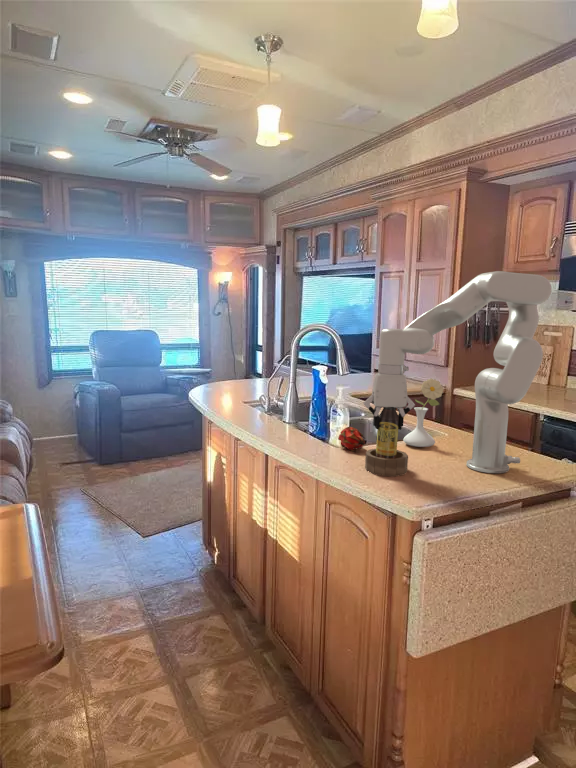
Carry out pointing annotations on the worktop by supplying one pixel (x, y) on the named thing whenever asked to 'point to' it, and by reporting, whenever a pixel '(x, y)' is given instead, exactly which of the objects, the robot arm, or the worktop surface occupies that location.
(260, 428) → the worktop surface
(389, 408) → the sauce bottle
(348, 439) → the dragon fruit
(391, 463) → the bottle holder
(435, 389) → the flower in vase
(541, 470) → the worktop surface
